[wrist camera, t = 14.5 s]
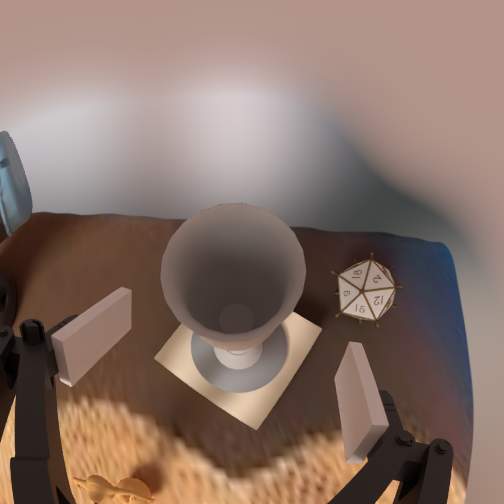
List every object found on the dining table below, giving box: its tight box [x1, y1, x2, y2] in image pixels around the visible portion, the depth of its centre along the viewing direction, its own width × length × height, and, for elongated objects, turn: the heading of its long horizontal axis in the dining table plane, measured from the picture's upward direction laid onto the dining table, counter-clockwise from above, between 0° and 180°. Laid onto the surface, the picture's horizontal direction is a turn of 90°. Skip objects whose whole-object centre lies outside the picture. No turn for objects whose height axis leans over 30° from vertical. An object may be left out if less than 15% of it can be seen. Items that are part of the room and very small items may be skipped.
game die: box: [331, 252, 403, 328], centre depth 33 cm, size 9×8×10 cm
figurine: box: [73, 475, 155, 504], centre depth 18 cm, size 8×6×12 cm
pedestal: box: [155, 312, 322, 430], centre depth 31 cm, size 13×13×4 cm
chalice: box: [160, 203, 306, 370], centre depth 21 cm, size 7×7×18 cm
